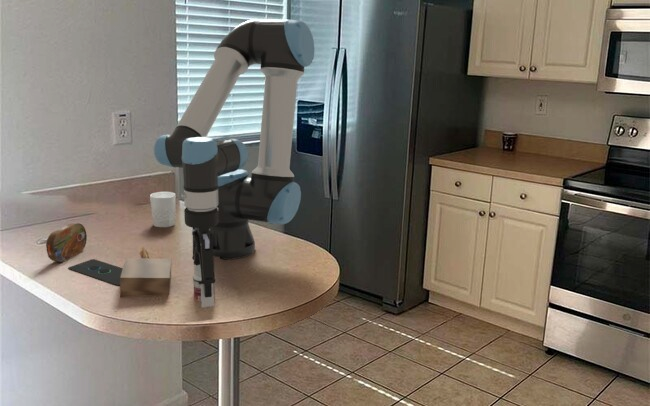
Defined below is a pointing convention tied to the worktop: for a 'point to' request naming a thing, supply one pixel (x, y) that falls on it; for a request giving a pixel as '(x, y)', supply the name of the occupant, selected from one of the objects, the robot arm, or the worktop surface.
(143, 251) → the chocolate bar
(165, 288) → the wooden block
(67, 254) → the tin
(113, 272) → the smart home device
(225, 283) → the worktop surface
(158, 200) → the white cup
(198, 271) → the pill bottle
